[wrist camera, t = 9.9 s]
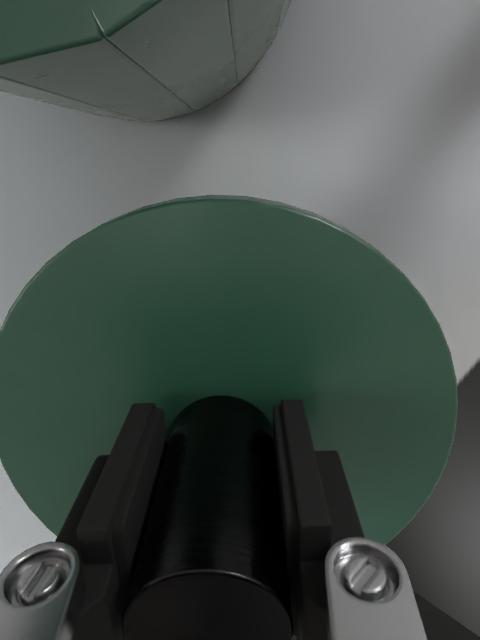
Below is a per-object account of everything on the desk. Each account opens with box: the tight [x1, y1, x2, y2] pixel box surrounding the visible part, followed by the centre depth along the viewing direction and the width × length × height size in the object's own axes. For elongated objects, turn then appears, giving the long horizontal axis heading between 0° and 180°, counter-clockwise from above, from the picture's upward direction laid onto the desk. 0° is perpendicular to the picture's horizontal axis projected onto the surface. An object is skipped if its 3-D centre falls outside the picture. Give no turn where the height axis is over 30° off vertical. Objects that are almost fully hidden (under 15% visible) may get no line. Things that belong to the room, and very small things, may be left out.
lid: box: [0, 195, 458, 640], centre depth 10 cm, size 13×13×7 cm
